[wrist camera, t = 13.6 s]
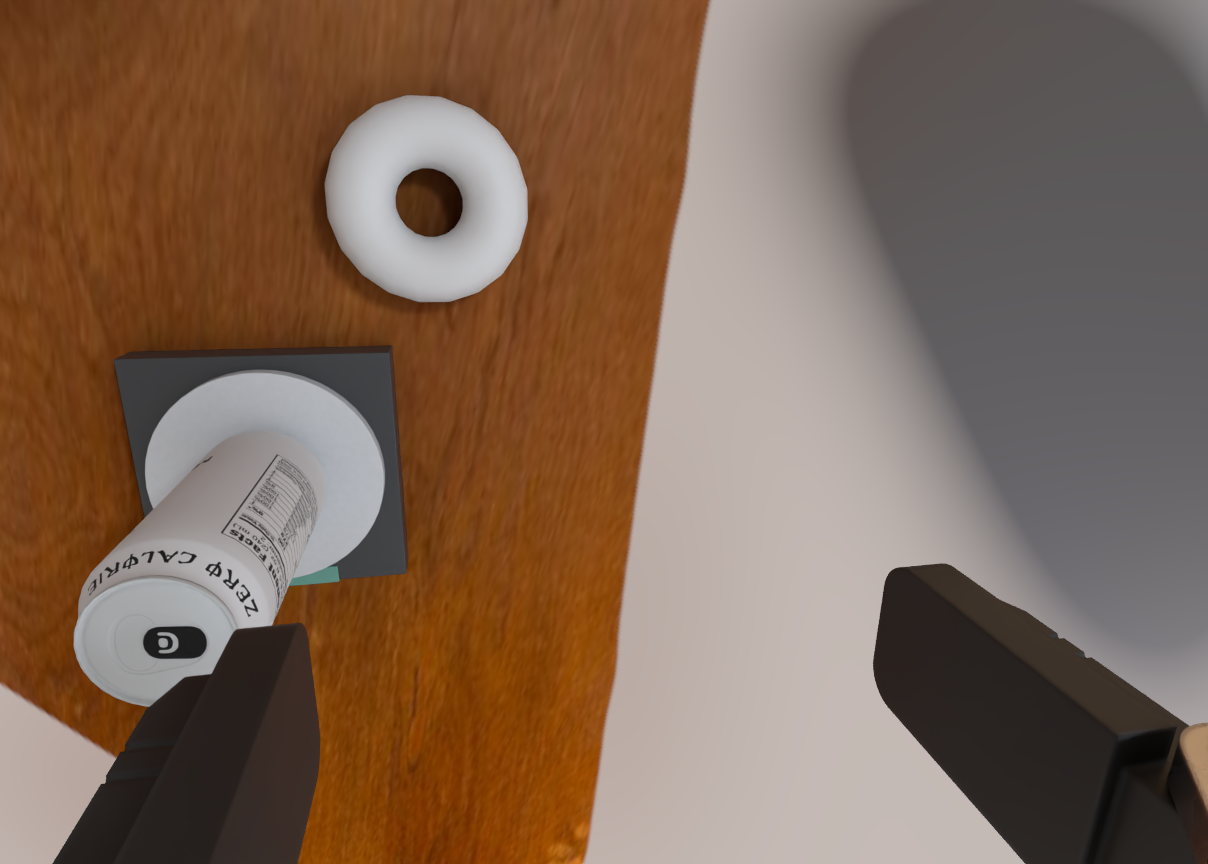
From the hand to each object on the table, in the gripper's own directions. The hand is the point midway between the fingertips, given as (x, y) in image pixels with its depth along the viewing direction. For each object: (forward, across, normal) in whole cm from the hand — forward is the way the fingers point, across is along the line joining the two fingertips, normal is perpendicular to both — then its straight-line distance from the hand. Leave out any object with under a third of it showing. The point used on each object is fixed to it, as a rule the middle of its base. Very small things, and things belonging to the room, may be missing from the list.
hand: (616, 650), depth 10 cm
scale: (+32, +12, +8) cm, 35 cm away
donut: (+32, +3, -6) cm, 33 cm away
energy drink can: (+30, +12, +8) cm, 33 cm away
